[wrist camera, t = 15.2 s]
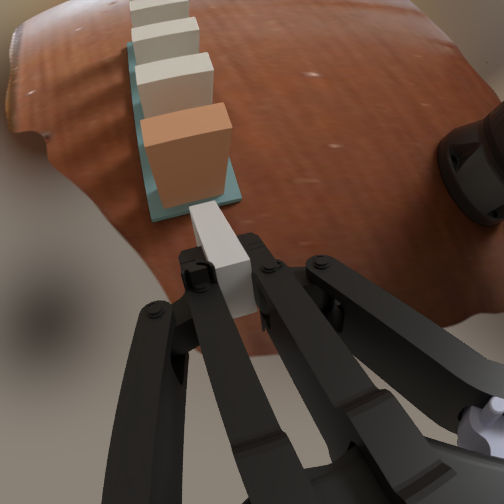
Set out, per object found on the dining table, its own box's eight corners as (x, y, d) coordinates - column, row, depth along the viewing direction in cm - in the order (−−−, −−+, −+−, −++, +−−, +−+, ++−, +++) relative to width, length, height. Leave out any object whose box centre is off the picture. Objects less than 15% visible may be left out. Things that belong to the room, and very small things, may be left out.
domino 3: (210, 144, 32) (214, 70, 22) (154, 157, 31) (136, 85, 21) (205, 126, 33) (207, 52, 22) (150, 138, 32) (134, 66, 21)
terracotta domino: (223, 194, 31) (232, 127, 21) (163, 209, 30) (144, 147, 19) (217, 173, 32) (223, 102, 21) (159, 187, 30) (140, 120, 20)
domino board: (241, 201, 32) (241, 197, 31) (152, 222, 30) (151, 219, 30) (189, 34, 38) (188, 30, 37) (127, 46, 36) (126, 42, 35)
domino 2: (198, 103, 34) (199, 29, 23) (147, 114, 32) (132, 42, 22) (194, 89, 34) (195, 16, 24) (144, 99, 33) (131, 28, 22)
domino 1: (189, 70, 35) (189, 0, 24) (141, 80, 34) (129, 11, 23) (186, 59, 35) (185, -9, 25) (140, 68, 34) (129, 1, 24)
